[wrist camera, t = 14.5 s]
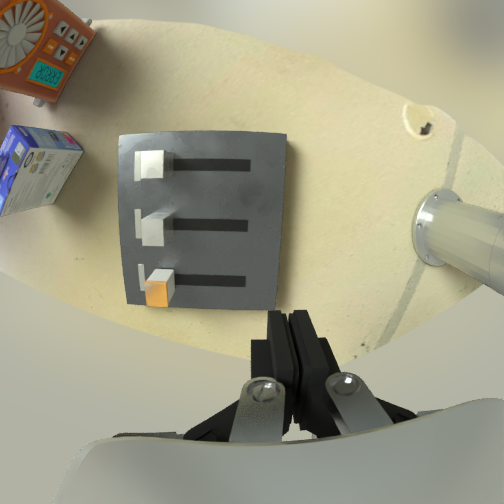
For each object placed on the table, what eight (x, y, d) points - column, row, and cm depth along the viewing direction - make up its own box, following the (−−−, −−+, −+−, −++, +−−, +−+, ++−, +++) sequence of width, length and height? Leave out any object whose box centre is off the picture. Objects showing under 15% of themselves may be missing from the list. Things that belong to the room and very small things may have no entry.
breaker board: (282, 137, 32) (295, 127, 25) (272, 299, 39) (280, 329, 31) (128, 137, 31) (101, 131, 24) (134, 294, 37) (114, 321, 30)
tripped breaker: (174, 269, 33) (165, 283, 29) (175, 290, 34) (167, 307, 30) (155, 268, 33) (144, 282, 29) (156, 289, 34) (147, 305, 30)
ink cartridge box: (65, 129, 30) (-2, 120, 16) (86, 149, 31) (18, 146, 17) (34, 183, 32) (-31, 196, 18) (53, 204, 33) (-13, 225, 19)
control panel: (105, 27, 25) (55, 112, 29) (76, 22, 24) (30, 101, 27) (31, -40, 5) (-51, 93, 8) (3, -32, 4) (-66, 85, 7)
